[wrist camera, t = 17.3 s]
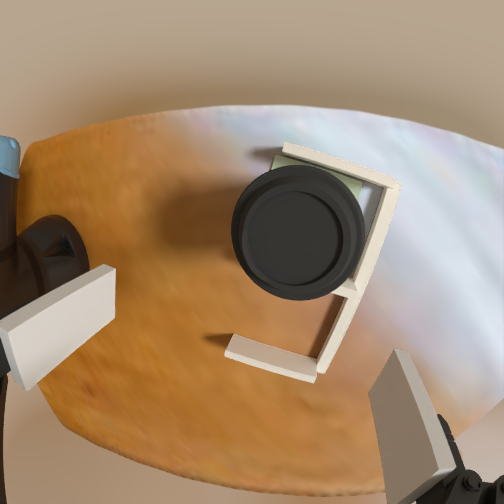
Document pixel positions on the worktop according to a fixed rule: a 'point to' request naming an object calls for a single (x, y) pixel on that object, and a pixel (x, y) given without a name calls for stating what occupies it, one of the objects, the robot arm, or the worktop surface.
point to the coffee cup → (298, 232)
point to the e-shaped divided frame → (350, 289)
